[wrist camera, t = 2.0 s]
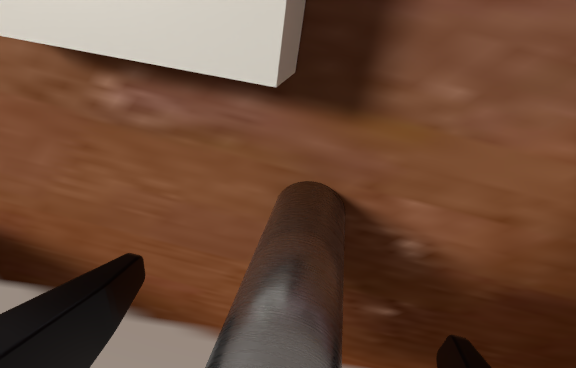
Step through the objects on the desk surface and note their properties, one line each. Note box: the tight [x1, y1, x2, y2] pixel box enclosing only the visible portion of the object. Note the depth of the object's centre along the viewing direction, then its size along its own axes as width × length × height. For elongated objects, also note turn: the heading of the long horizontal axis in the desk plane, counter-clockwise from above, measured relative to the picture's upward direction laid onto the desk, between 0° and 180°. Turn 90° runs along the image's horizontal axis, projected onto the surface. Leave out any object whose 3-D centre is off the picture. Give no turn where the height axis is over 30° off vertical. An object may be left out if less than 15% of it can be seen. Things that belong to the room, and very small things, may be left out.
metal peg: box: [205, 181, 345, 368], centre depth 8 cm, size 3×3×10 cm
